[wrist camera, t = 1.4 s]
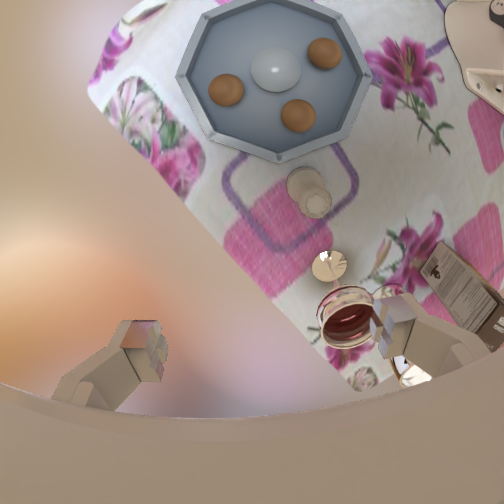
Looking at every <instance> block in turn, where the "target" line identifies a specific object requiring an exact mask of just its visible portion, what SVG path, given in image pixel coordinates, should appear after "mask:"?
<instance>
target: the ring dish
mask: <svg viewBox="0 0 504 504" xmlns="http://www.w3.org/2000/svg"><path fill="white" fill-rule="evenodd" d="M318 38H329V39H331V40H333V41H335V42H336V43H337V44H338V45H339V46H340V48H341V50H342V59H341V61H340V63H339V64H338V65H337V66H335V67H333V68H329V69H324V68H320V67H317V66H316V65H314V64H313V63H312V62H311V61H310V59H309V57H308V54H307V50H308V46H309V44H310V43H311V42H312V41H313V40H315V39H318ZM221 74H232V75H235V76H237V77H238V78H239V79H240V80H241V81H242V83H243V86H244V93H243V96H242V98H241V99H240V100H239V101H238V102H237V103H236V104H234V105H232V106H220V105H217V104H215V103H214V102H213V101H212V100H211V99H210V97H209V94H208V88H209V84H210V82H211V81H212V80H213V79H214V78H215V77H216V76H218V75H221ZM372 76H373V75H372V73H371V71H370V68H369V66H368V64H367V62H366V60H365V57H364V55H363V53H362V51H361V49H360V47H359V45H358V43H357V41H356V39H355V37H354V35H353V33H352V31H351V29H350V28H349V26H348V24H347V22H346V20H345V19H344V17H343V15H342V14H340V13H338V12H336V11H334V10H331V9H329V8H327V7H324V6H322V5H319V4H317V3H314V2H312V1H309V0H234V1H231V2H229V3H226V4H224V5H221V6H219V7H217V8H214V9H212V10H210V11H207V12H205V13H203V14H201V17H200V19H199V21H198V23H197V25H196V27H195V29H194V32H193V34H192V36H191V38H190V41H189V43H188V45H187V48H186V50H185V53H184V55H183V58H182V60H181V63H180V65H179V68H178V70H177V73H176V76H175V78H176V80H177V82H178V84H179V86H180V87H181V89H182V91H183V93H184V95H185V97H186V99H187V101H188V103H189V105H190V107H191V109H192V111H193V113H194V114H195V116H196V118H197V120H198V122H199V124H200V126H201V128H202V130H203V132H204V134H205V136H206V138H207V139H208V140H211V141H214V142H217V143H220V144H223V145H226V146H229V147H232V148H235V149H238V150H241V151H244V152H247V153H250V154H252V155H255V156H258V157H261V158H263V159H266V160H269V161H271V162H274V163H277V164H281V163H283V162H286V161H288V160H291V159H293V158H296V157H298V156H301V155H303V154H306V153H309V152H311V151H314V150H316V149H319V148H322V147H324V146H327V145H330V144H333V143H335V142H338V141H341V140H344V139H346V138H348V135H349V133H350V131H351V128H352V126H353V124H354V121H355V119H356V117H357V114H358V112H359V110H360V107H361V105H362V103H363V100H364V98H365V95H366V93H367V90H368V88H369V86H370V83H371V81H372V78H373V77H372ZM293 99H302V100H305V101H307V102H309V103H310V104H311V105H312V106H313V108H314V110H315V113H316V120H315V123H314V125H313V126H312V127H311V128H310V129H309V130H307V131H305V132H293V131H291V130H289V129H287V128H286V127H285V126H284V124H283V122H282V120H281V110H282V108H283V106H284V105H285V104H286V103H287V102H289V101H290V100H293Z"/></svg>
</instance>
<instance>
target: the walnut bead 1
mask: <svg viewBox="0 0 504 504" xmlns="http://www.w3.org/2000/svg"><path fill="white" fill-rule="evenodd" d="M243 93H244V86H243V83H242V81H241V80H240V79H239V78H238V77H237V76H235V75H232V74H221V75H218V76H216V77H215V78H214V79H213V80H212V81H211V82H210V84H209V88H208V94H209V97H210V99H211V100H212V101H213V102H214V103H215V104H217V105H220V106H232V105H234V104H236V103H237V102H238V101H239V100H240V99H241V98H242V96H243Z"/></svg>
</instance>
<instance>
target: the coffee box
mask: <svg viewBox="0 0 504 504" xmlns="http://www.w3.org/2000/svg"><path fill="white" fill-rule="evenodd" d="M420 274H421V275H422V276H423V277H424V279H425V280H426V281H427V283H428V284H429V285H430V287H431V288H432V289H433V291H434V292H435V293H436V295H437V296H438V297H439V299H440V300H441V302H442V303H443V304H444V306H445V307H446V309H447V310H448V312H449V313H450V315H451V316H452V318H453V319H454V321H455V322H456V324H457V325H458V327H461V328H463V329H465V330H467V331H470V332H472V333H474V334H476V335H478V336H479V338H480V339H481V340H482V341H483V343H484V344H485V345H486V346H487V348H488V349H489V350H490V352H491V353H493V352H494V351H496V350H497V349H498V348H499V346H500V345H501V344H502V343H503V342H504V299H503V298H502V297H501V296H500V294H499V293H498V292H497V291H496V290H495V289H494V288H493V287H492V286H491V284H490V283H489V282H488V281H487V280H486V279H485V278H484V277H483V276H482V275H481V274H480V273H479V272H478V271H477V270H476V269H475V268H474V267H473V266H472V265H471V264H470V263H469V262H468V261H466V260H465V259H464V258H463V257H461V256H460V255H459V254H457V253H456V252H455V251H454V250H452V249H451V248H450V247H448V246H447V245H446V244H444V243H443V242H442V241H440V242H439V243H438V245H437V246H436V248H435V249H434V251H433V252H432V254H431V255H430V257H429V259H428V260H427V262H426V263H425V265H424V266H423V268H422V269H421V270H420Z"/></svg>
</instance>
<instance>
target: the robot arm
mask: <svg viewBox="0 0 504 504" xmlns="http://www.w3.org/2000/svg"><path fill="white" fill-rule="evenodd" d="M445 27H446V32H447V36H448V39H449V42H450V44H451V47H452V49H453V51H454V53H455V55H456V57H457V59H458V61H459V63H460V65H461V69H462V74H463V78H464V82H465V85H466V87H467V88H468V89H469V90H470V91H472V92H473V93H475V94H476V95H477V96H479V97H480V98H482V99H483V100H484V101H486V102H487V103H489V104H490V105H491V106H492V107H494V108H495V109H496V110H498V111H499V112H500V113H501V114H503V115H504V0H492V1H482V2H463V1H455V2H452V3H451V4H450V5H449V6H448V7H447V9H446V12H445ZM373 309H374V311H375V313H374V314H373V315H372V316H371V319H370V332H371V335H372V337H373V339H374V340H375V341H377V342H379V346H378V349H379V351H380V352H381V354H382V356H383V358H384V359H388V358H393V357H397V356H401V355H403V357H405V358H406V359H408V360H409V361H410V362H412V363H413V364H415V365H416V366H417V367H419V368H420V369H422V370H423V371H424V372H426V373H427V374H429V375H430V376H431V377H433V379H431V380H428V381H425V382H422V383H419V384H416V385H413V386H410V387H407V388H404V389H401V390H398V391H395V392H391V393H387V394H384V395H380V396H377V397H373V398H369V399H365V400H361V401H356V402H352V403H348V404H343V405H338V406H333V407H327V408H322V409H316V410H309V411H303V412H295V413H288V414H279V415H269V416H257V417H242V418H241V417H240V418H174V417H157V416H147V415H137V414H128V413H120V412H114V411H115V410H116V409H117V408H118V407H119V405H120V404H121V403H122V402H123V401H124V400H125V399H126V398H127V397H128V396H129V395H130V394H131V393H132V392H133V391H134V390H135V389H136V387H137V386H138V385H139V384H140V383H141V382H161V379H162V376H163V372H164V367H163V365H162V364H163V363H164V362H165V361H167V356H168V345H167V341H166V338H165V337H164V336H163V335H162V334H161V330H162V327H161V325H160V322H159V321H157V320H123V321H121V322H120V324H119V325H118V327H117V329H116V331H115V333H114V335H113V337H112V339H111V341H110V343H109V345H108V347H104V348H102V349H101V350H100V351H98V352H97V353H95V354H94V355H93V356H91V357H90V358H88V359H87V360H85V361H84V362H82V363H81V364H80V365H78V366H77V367H75V368H74V369H73V370H71V371H70V372H68V373H67V374H65V375H64V376H63V377H62V378H61V380H60V382H59V384H58V386H57V388H56V390H55V392H54V394H53V396H52V398H47V397H44V396H40V395H37V394H33V393H30V392H27V391H24V390H21V389H18V388H15V387H12V386H9V385H7V384H4V383H2V382H0V504H504V347H502V348H500V349H499V350H496V351H494V352H493V353H491V352H490V350H489V349H488V348H487V346H486V345H485V344H484V343H483V341H482V340H481V339H480V338H479V336H478V335H476V334H474V333H472V332H470V331H467V330H465V329H463V328H461V327H458V326H456V325H454V324H452V323H449V322H447V321H445V320H443V319H440V318H438V317H436V316H434V315H428V313H427V312H426V311H425V310H424V309H423V307H422V306H421V305H420V304H419V303H418V301H417V300H416V299H415V298H414V297H413V295H412V294H411V293H403V294H399V295H396V296H390V297H385V298H379V299H375V301H374V304H373Z"/></svg>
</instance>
